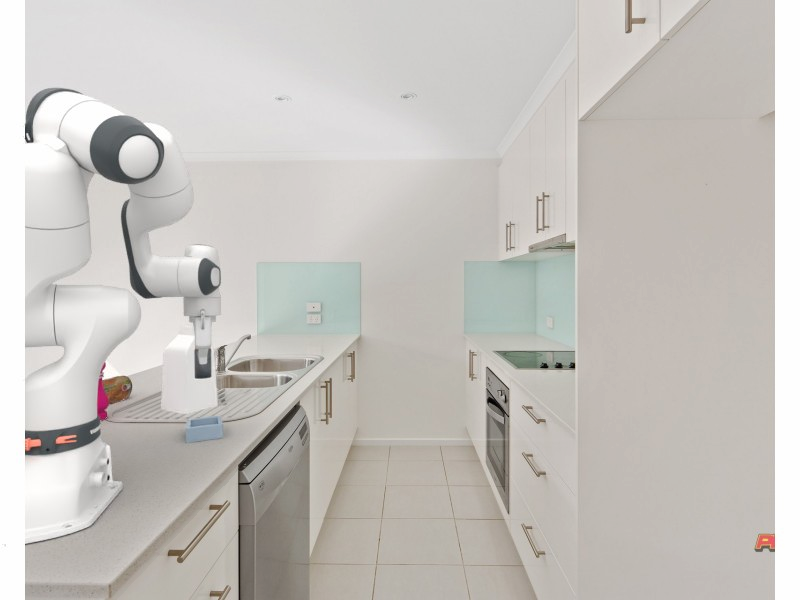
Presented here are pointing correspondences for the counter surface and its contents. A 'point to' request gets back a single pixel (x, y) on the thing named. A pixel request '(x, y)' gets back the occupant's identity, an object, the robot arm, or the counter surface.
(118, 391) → the tin
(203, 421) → the light blue square tray
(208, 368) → the cell
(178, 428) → the counter surface
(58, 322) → the robot arm
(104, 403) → the pepper mill
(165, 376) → the milk
